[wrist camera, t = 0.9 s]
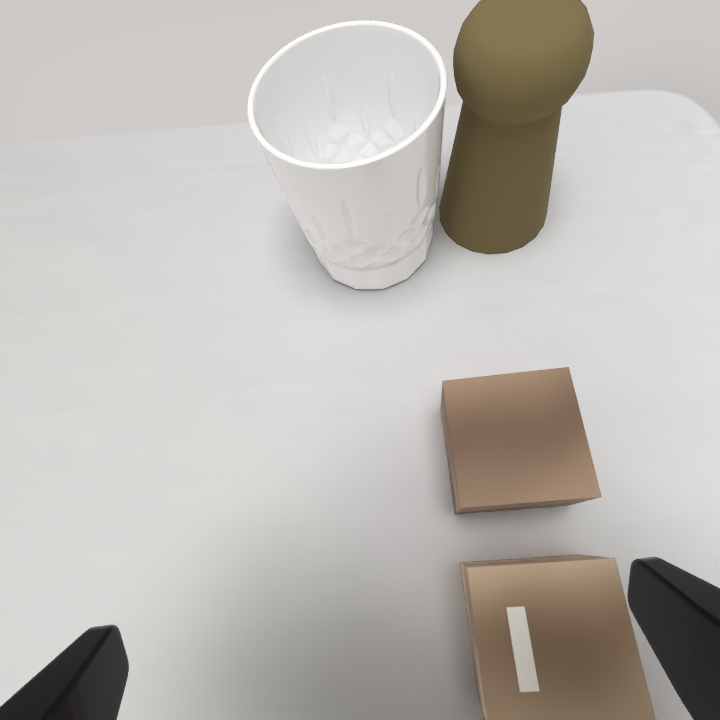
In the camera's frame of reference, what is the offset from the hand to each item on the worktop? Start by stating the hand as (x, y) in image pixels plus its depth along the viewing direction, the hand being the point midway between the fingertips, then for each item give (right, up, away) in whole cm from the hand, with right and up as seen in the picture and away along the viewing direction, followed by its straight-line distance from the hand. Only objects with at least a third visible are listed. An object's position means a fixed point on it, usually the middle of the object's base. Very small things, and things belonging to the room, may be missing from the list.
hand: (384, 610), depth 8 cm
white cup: (0, +11, +19) cm, 22 cm away
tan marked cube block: (+7, -7, +11) cm, 15 cm away
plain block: (+6, 0, +14) cm, 15 cm away
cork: (+7, +13, +19) cm, 24 cm away
